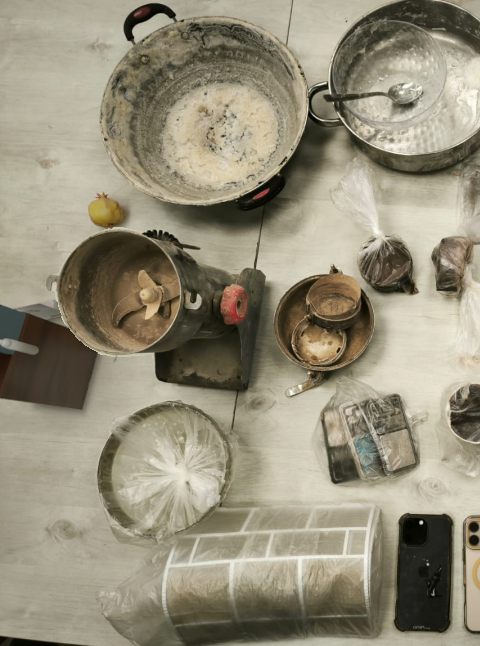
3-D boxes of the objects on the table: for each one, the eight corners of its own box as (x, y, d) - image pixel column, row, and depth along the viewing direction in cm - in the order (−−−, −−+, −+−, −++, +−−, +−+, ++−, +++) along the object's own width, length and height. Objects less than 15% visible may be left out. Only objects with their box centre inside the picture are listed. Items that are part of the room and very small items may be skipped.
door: (54, 317, 100) (15, 302, 91) (42, 358, 99) (1, 347, 89) (23, 313, 100) (-19, 298, 91) (10, 354, 99) (-34, 343, 89)
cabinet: (101, 339, 123) (-25, 294, 90) (81, 409, 120) (-57, 390, 86) (58, 333, 123) (-84, 286, 90) (37, 404, 120) (-118, 382, 87)
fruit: (121, 222, 123) (112, 183, 125) (87, 227, 121) (78, 188, 123) (130, 235, 130) (121, 198, 132) (97, 241, 127) (89, 203, 129)
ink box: (19, 316, 124) (-16, 304, 115) (69, 305, 125) (39, 292, 115) (20, 326, 123) (-15, 315, 114) (70, 315, 124) (39, 303, 115)
